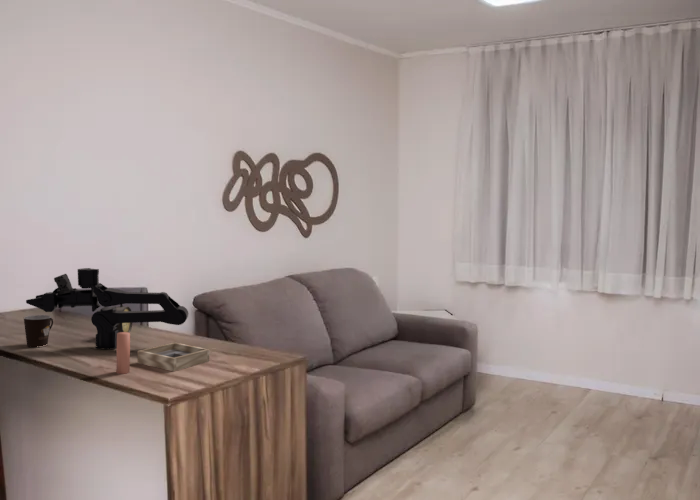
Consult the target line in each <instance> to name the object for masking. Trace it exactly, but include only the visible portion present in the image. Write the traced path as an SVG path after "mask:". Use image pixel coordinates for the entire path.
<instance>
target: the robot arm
mask: <svg viewBox="0 0 700 500" xmlns="http://www.w3.org/2000/svg"><path fill="white" fill-rule="evenodd" d="M99 274H100V269H99V268H91V267H85V268H84V267H83V268H77V285H78V287H79V288H81V289H78V288H73V286H72V283H71V281H70V279H69V276H68V274H67V273H64V274H61V275H58V276H56V277H54V278H53V280H54V282H55V283H56V286H57V287H56V288H55V289H54V290H53V291H50V292H45V293H42V294H39V295H36V296H35V297H34V298H30V299H26V300H25V303H26V304H28V305H30V306H33V307H34V308H36V309H37V308H38V309H39V310H42V311H43V312H45V313H52V312H54V311H56V310H57V308H59V309H62V308H66V307H67V308H68V307H69V308H71V309H73V308H76V307H91V311H92V312H94V313H93V314H92V315H91V317H90V318H91V323H92V325H93V326H94V327H95V328H96V330H97V331H96V334H95V347H94V349H97V350H115V349H117V333H118V329H116V328H117V327H118V324H119V323H132V324H135V323H164V324H168V325H173V326H174V325H175V326H182V325H183V324H184V323H186V321H187V319H188V318H189V315H190V314H189V310H188V308H186V307H185V306H183V305H182V306H181V305H180V304H179V303H178V302H177V301H176V300H174V299H173V298H172V297H171V296H170V295H169V294H168V293H167V292H165V291H161V292H145V291H144V292H143V291H142V292H137V291H134V292H133V291H130V292H129V291H124V290H120V289H116V288H111V287H109V288H108V287H107V286H105V285H104V284H103V283H101V282H99V281H100V280H99V278H100V277H99ZM120 304H122V305H125V304H126V305H127V304H130V305H131V304H134V305H135V304H136V305H138V304H139V305H140V304H141V305H142V304H143V305H159V306H160V307H161V308H162V309H160V310H131V311H118V310H116V307H117V306H120ZM100 307H102V308H100ZM99 308H100V309H99ZM97 309H98V310H97Z"/></svg>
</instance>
